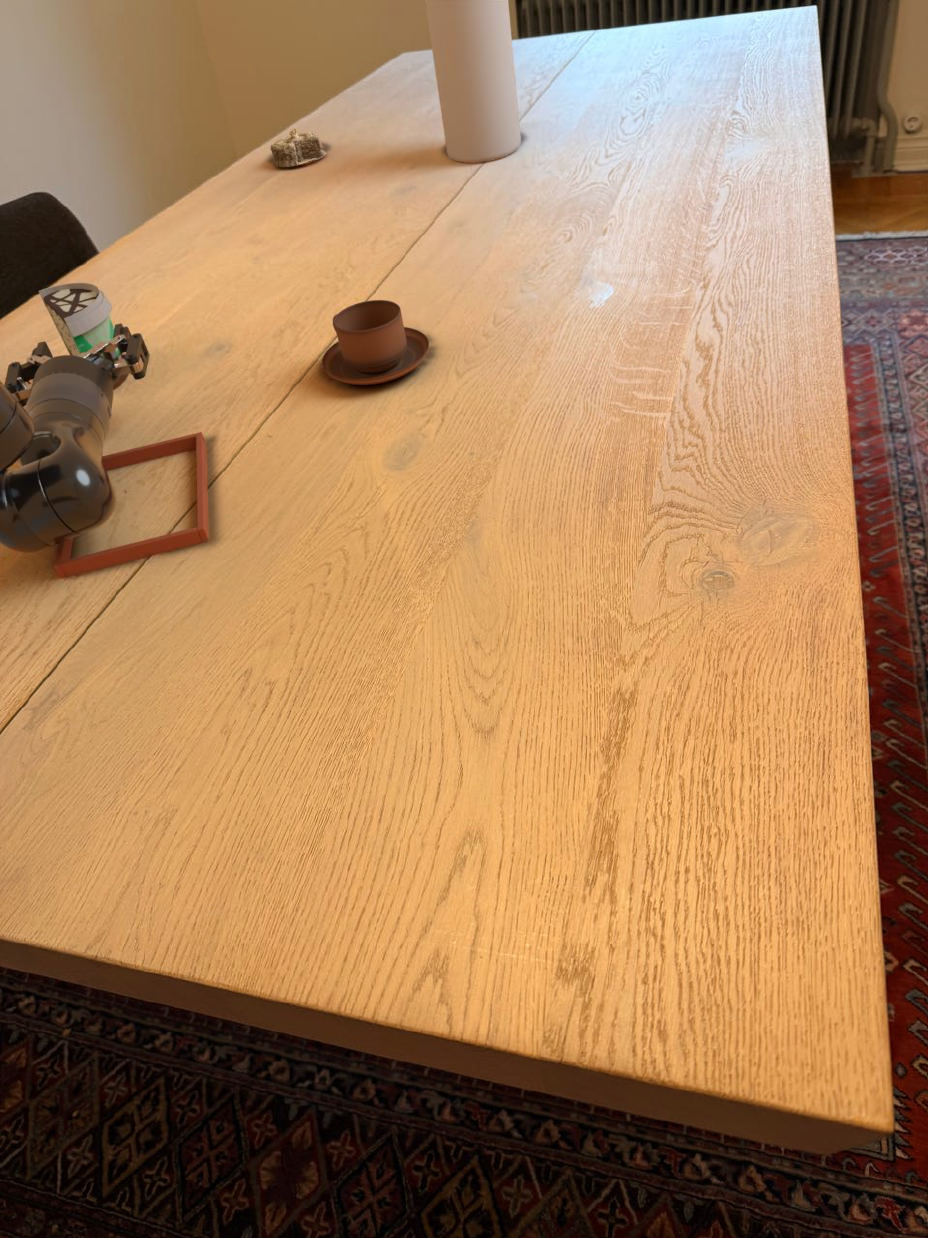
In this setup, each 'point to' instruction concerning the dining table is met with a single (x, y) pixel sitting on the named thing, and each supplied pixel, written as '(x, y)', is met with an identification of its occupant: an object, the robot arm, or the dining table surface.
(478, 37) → the cylinder vase
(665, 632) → the dining table surface
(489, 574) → the dining table surface
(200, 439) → the square frame
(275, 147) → the cake
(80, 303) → the food container
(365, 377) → the cup and saucer
